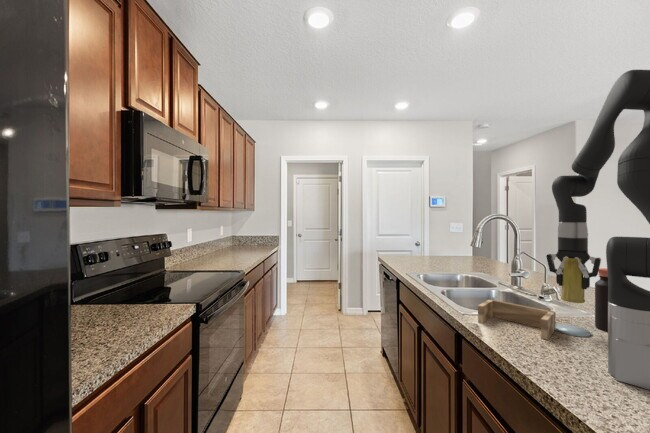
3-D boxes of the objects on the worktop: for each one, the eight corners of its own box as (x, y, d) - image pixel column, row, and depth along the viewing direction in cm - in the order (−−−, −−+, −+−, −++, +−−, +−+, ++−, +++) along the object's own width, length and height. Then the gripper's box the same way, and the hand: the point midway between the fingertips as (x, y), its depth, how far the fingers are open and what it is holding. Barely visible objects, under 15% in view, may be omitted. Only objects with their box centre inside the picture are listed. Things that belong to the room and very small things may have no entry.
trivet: (588, 339, 90) (588, 337, 90) (551, 330, 97) (551, 329, 97) (592, 331, 96) (592, 329, 96) (557, 323, 103) (557, 322, 103)
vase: (563, 301, 95) (563, 258, 95) (558, 297, 100) (558, 255, 100) (587, 304, 92) (587, 259, 92) (581, 299, 97) (581, 256, 97)
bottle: (603, 324, 102) (602, 267, 102) (628, 331, 95) (628, 270, 95) (590, 326, 100) (589, 268, 100) (614, 334, 93) (614, 272, 93)
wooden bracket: (547, 339, 90) (547, 320, 90) (478, 322, 105) (477, 305, 105) (555, 329, 97) (555, 311, 97) (489, 314, 113) (489, 299, 113)
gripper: (542, 235, 99) (543, 285, 99) (600, 237, 88) (601, 293, 88) (548, 234, 104) (548, 281, 104) (603, 236, 93) (604, 289, 93)
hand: (572, 286), depth 96 cm, fingers closed on vase, 5 cm apart
